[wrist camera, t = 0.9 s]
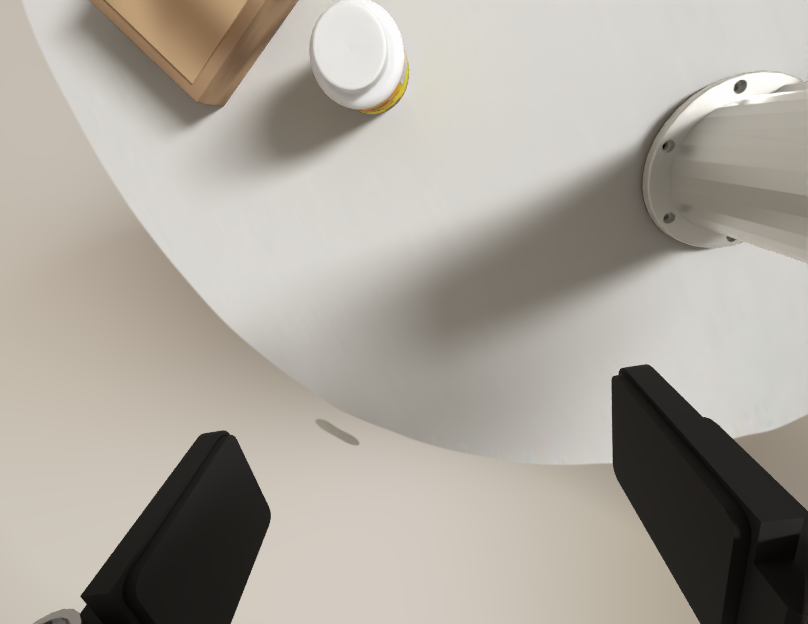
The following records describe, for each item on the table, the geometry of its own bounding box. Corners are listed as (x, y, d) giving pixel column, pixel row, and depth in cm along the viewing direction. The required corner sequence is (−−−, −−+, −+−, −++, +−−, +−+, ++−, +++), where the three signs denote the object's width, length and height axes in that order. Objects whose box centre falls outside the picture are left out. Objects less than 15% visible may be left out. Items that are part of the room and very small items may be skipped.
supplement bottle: (336, 112, 32) (297, 102, 22) (337, 27, 29) (294, -24, 20) (407, 118, 31) (397, 110, 22) (413, 33, 29) (405, -15, 20)
